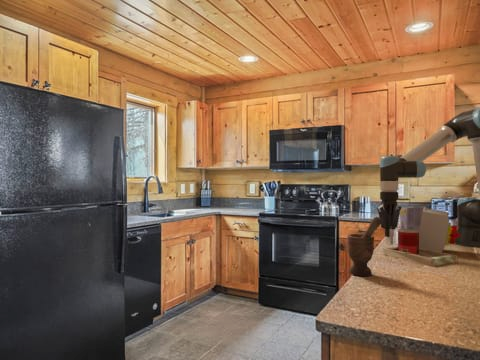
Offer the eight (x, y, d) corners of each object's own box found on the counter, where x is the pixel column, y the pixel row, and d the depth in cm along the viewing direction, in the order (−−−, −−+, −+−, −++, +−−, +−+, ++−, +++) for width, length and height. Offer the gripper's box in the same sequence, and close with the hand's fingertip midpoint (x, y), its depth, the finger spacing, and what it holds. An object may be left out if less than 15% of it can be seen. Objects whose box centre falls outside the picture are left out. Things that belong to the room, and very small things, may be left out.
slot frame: (407, 251, 155) (407, 245, 155) (456, 261, 136) (456, 254, 136) (383, 254, 149) (383, 248, 149) (431, 266, 129) (431, 258, 129)
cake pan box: (420, 237, 194) (420, 205, 194) (429, 238, 190) (429, 206, 190) (399, 240, 184) (399, 207, 184) (408, 242, 180) (408, 207, 180)
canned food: (422, 258, 142) (422, 231, 142) (401, 257, 143) (401, 231, 143) (415, 254, 149) (414, 228, 150) (395, 254, 150) (395, 228, 150)
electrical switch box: (454, 261, 145) (463, 214, 144) (415, 252, 153) (422, 207, 151) (455, 255, 158) (462, 211, 156) (418, 247, 165) (425, 205, 164)
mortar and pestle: (386, 274, 118) (386, 215, 118) (380, 280, 111) (380, 217, 111) (351, 269, 125) (351, 213, 125) (344, 275, 117) (344, 215, 117)
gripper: (392, 190, 162) (392, 241, 162) (371, 191, 156) (372, 243, 156) (406, 191, 155) (406, 244, 155) (385, 191, 149) (385, 246, 149)
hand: (389, 243), depth 155 cm, fingers closed
